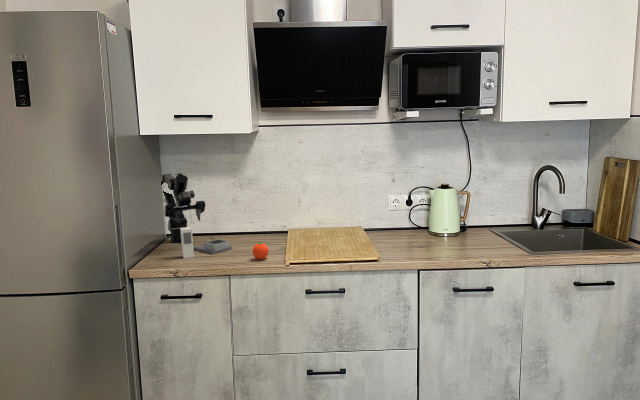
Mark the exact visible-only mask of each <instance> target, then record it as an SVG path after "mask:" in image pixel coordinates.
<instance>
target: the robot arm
mask: <svg viewBox="0 0 640 400" xmlns="http://www.w3.org/2000/svg"><path fill="white" fill-rule="evenodd" d="M161 176H162V181H161V185H162V184H163V183H164V182H165V183H167V184H168V188H169V189H170V190H173V195H172V194H169V193H166V192H164V191H163V193H164V196H165V199H164V202H165V206H164V211H163V213H164V216H165V217H166V218H169V219H168V222H167V230H168V232H170V241H169V243H171V244H178V243H179V244H182V243H181V231H180V228H186V227H188V219H187V217H185V215H184V212H185V211H186V212H187V211H193V210H195V215H196V217H197V220H198V221H199V222H200V221H201V214H202V213H204V212H205V209H206V202H205V200H196V201H195V204H192V199H195V196H196V194H195V191H194V190H189V191H187V189H188V187H187V186H188V181H189V178H188V176H186V175H184V174H183V173H181V172H180V173H177V175H176V176H173V175H171V173H165V174H162V175H161Z"/></svg>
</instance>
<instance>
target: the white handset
mask: <svg viewBox="0 0 640 400" xmlns="http://www.w3.org/2000/svg"><path fill="white" fill-rule="evenodd" d="M180 231H181V243H180V244H181V252H182V257H183V259H191V258H194V257H195V252H194V251H195V250H193V247H194V240H193V229H192V227H191V226H187V227H186V228H180Z"/></svg>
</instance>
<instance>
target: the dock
mask: <svg viewBox="0 0 640 400" xmlns="http://www.w3.org/2000/svg"><path fill="white" fill-rule="evenodd" d="M193 250H194V251H197V252H201V253H204V254H210V255H216V254H219V253H224V252H226V251H231V250H233V247H232V246H230V241H229V240H225V239H221V238H218V239H217V238H216V239H213V240H210V241H205V242H204V244H200V245H199V244H198V245H195V246H193Z"/></svg>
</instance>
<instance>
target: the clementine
mask: <svg viewBox="0 0 640 400" xmlns="http://www.w3.org/2000/svg"><path fill="white" fill-rule="evenodd" d="M252 255H253V257H254V258H255V259H257V260H264V259H265V258H267V256H268V255H269V247H268V246H267V245H266V244H265V243H262V242H258V243H257V244H255V245H254V246H253V247H252Z"/></svg>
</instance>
